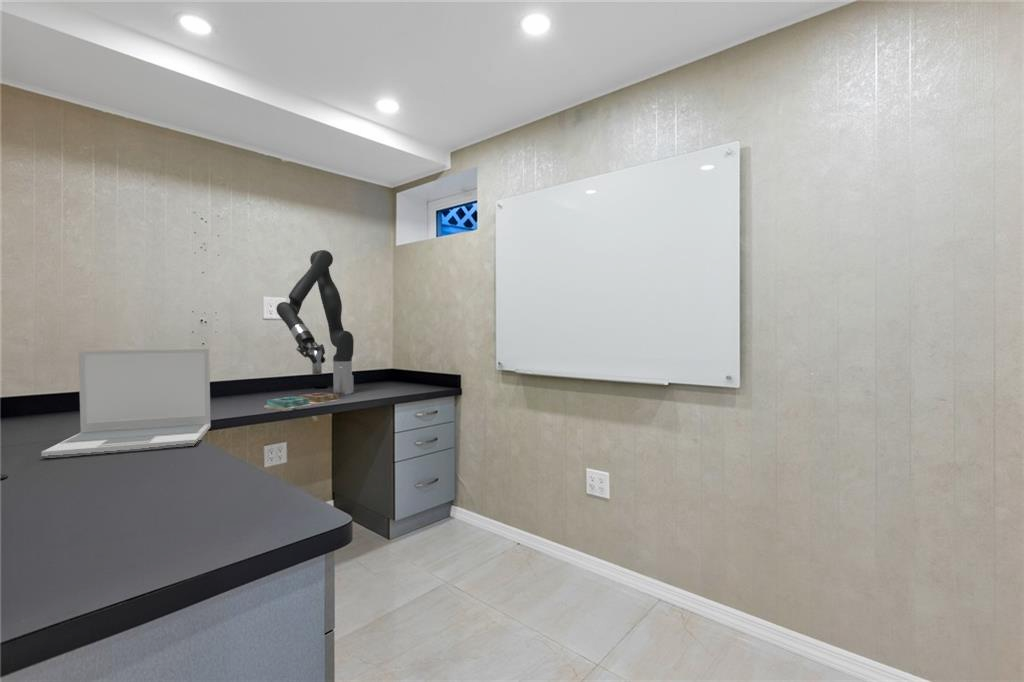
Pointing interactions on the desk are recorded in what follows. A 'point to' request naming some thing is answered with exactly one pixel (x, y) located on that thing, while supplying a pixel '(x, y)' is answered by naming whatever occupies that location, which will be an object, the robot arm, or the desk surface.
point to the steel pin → (318, 355)
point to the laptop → (140, 400)
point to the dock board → (300, 401)
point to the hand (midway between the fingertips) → (319, 361)
